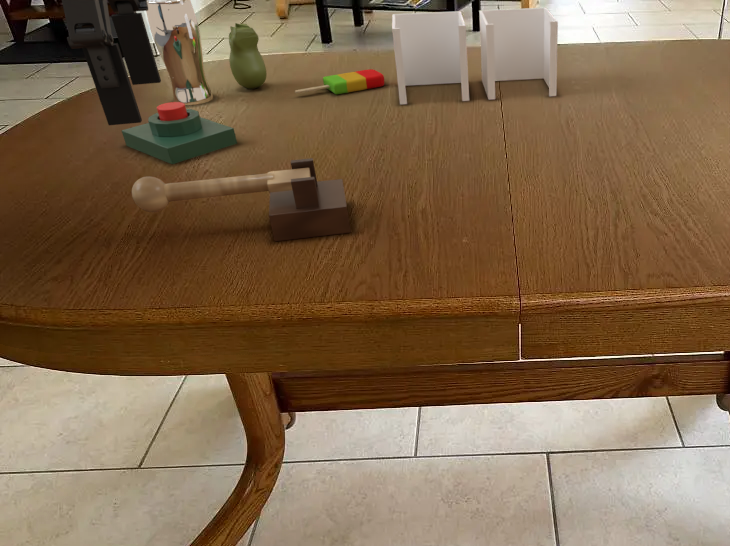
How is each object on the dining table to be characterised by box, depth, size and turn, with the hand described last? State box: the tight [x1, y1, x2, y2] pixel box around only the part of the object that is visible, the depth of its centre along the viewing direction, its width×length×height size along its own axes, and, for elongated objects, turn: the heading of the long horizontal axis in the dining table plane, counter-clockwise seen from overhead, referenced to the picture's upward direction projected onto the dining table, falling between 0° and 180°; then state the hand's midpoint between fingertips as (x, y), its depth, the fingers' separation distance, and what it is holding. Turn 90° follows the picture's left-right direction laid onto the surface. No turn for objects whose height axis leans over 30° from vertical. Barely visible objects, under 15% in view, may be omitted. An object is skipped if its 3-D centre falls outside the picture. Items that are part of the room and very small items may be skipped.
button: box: [156, 101, 188, 121], centre depth 101 cm, size 4×4×2 cm
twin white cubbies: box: [391, 7, 559, 105], centre depth 119 cm, size 25×11×11 cm, turn 97°
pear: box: [228, 22, 267, 90], centre depth 123 cm, size 6×5×10 cm
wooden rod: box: [131, 168, 311, 213], centre depth 78 cm, size 18×4×4 cm, turn 104°
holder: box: [268, 157, 352, 242], centre depth 81 cm, size 8×8×6 cm
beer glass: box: [145, 0, 214, 106], centre depth 116 cm, size 7×7×15 cm
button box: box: [121, 108, 238, 165], centre depth 102 cm, size 12×10×4 cm
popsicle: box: [294, 68, 385, 95], centre depth 123 cm, size 6×15×2 cm, turn 122°
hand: (137, 101), depth 72 cm, fingers open, 13 cm apart
